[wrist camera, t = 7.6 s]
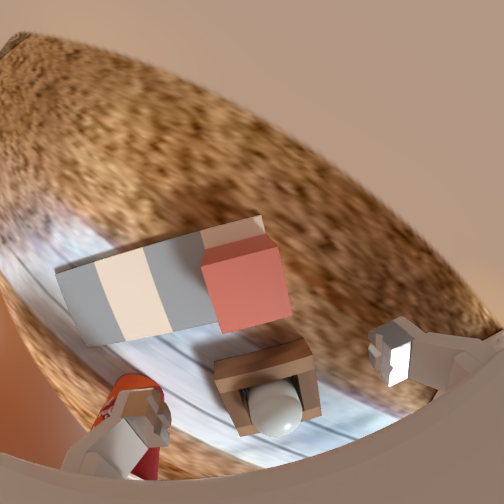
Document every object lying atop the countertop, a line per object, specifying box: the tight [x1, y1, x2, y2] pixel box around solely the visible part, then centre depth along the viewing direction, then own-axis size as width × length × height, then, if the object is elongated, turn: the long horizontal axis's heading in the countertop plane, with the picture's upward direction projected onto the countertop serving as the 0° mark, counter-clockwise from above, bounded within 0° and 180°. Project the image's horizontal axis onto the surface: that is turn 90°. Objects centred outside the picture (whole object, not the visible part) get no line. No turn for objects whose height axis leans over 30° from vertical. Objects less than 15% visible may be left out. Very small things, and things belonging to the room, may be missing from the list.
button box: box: [214, 338, 322, 437], centre depth 25 cm, size 9×9×3 cm
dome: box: [246, 377, 302, 437], centre depth 23 cm, size 5×5×6 cm
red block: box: [201, 234, 292, 334], centre depth 20 cm, size 5×5×5 cm
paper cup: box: [90, 374, 164, 480], centre depth 18 cm, size 8×8×14 cm
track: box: [55, 215, 266, 348], centre depth 22 cm, size 20×8×1 cm, turn 104°
